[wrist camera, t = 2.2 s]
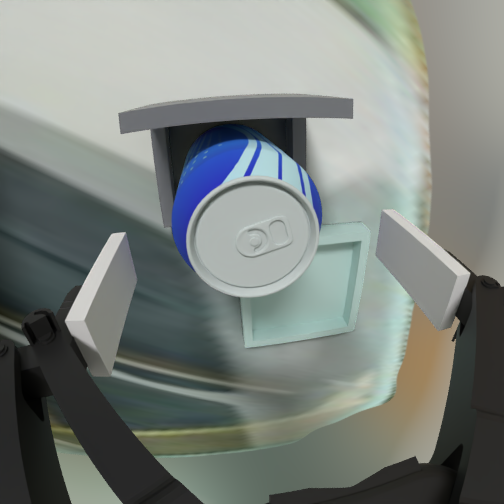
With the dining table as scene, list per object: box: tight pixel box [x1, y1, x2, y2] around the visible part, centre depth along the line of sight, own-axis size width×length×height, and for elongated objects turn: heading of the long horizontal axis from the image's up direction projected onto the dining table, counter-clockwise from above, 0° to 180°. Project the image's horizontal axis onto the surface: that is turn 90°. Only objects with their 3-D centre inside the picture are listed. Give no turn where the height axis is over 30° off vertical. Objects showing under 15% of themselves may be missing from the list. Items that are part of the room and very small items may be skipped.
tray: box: [240, 222, 371, 348], centre depth 36 cm, size 14×14×2 cm
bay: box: [118, 94, 353, 228], centre depth 24 cm, size 13×11×12 cm
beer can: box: [171, 124, 322, 298], centre depth 22 cm, size 8×8×16 cm
